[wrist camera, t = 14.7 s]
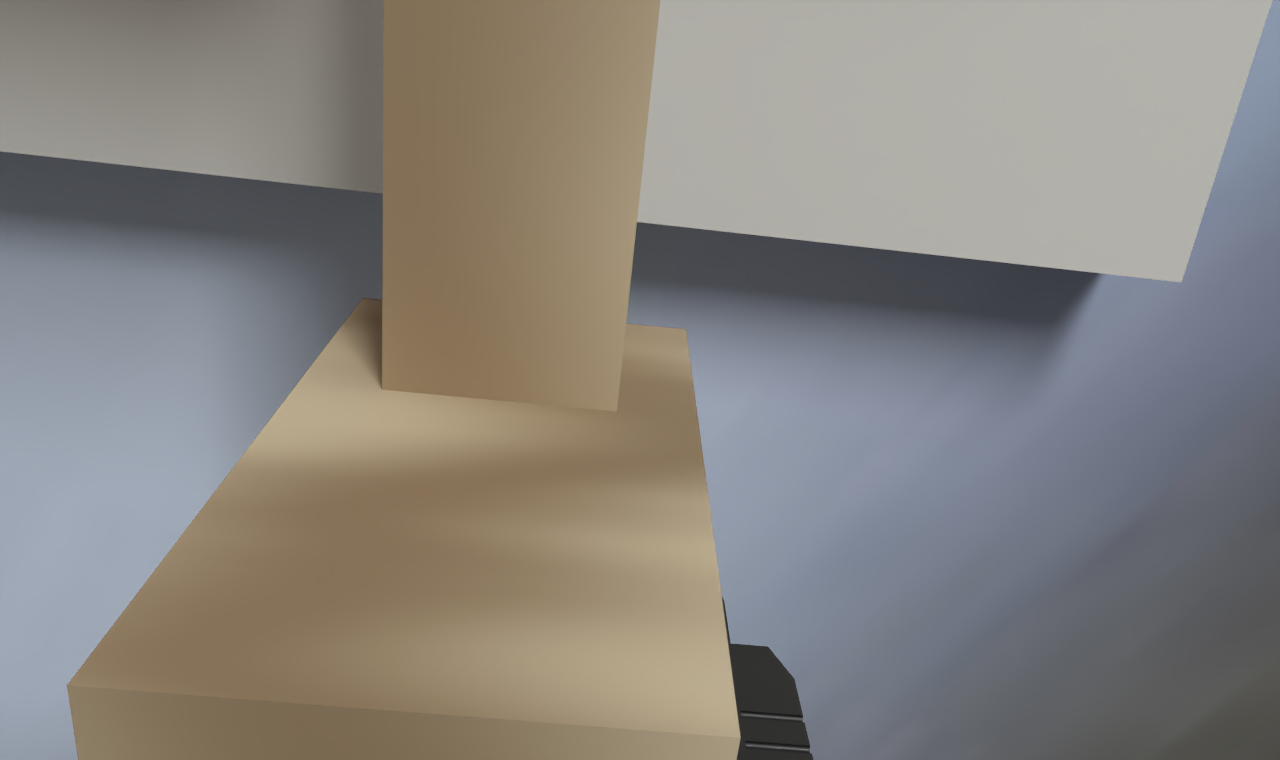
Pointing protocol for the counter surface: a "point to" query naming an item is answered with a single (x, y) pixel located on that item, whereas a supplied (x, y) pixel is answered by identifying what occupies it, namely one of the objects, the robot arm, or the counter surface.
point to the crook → (460, 457)
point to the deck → (717, 112)
